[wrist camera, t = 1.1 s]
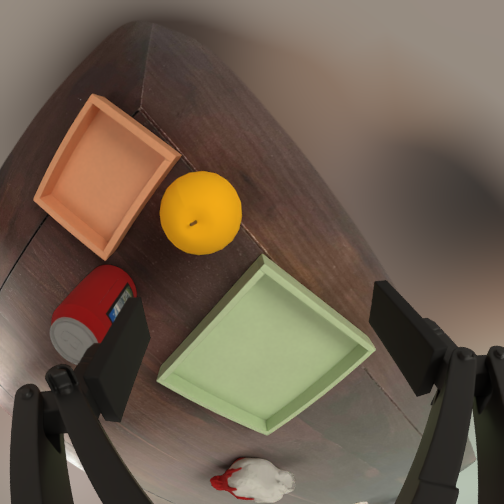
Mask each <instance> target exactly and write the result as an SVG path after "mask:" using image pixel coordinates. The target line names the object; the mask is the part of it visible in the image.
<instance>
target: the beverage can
mask: <svg viewBox="0 0 504 504" xmlns="http://www.w3.org/2000/svg"><path fill="white" fill-rule="evenodd" d="M131 297H137V291H136V287H135V284H134V282H133V280H132V279H131V277H130V276H129V275H128V274H127V273H126V272H125V271H123V270H122V269H120V268H118V267H116V266H113V265H101V266H98V267H96V268H95V269H94V270H93V271H92V272H91V273H90V274H89V275H88V276H86V277H85V278H84V279H83V280H82V281H81V282H80V284H79V285H78V286H77V287H76V288H75V289H74V290H73V291H72V292H71V293H70V294H69V295H68V296H67V297H66V298H65V299H64V300H63V302H62V303H61V304H60V305H59V306H58V307H57V308H56V310H55V311H54V313H53V315H52V321H51V328H50V338H51V341H52V344H53V346H54V347H55V349H56V350H57V351H58V353H59V354H60V355H61V356H62V357H63V358H65V359H66V360H68V361H69V362H71V363H73V364H76V365H78V363H79V362H80V360H81V358H82V357H83V355H84V353H85V351H86V350H87V348H89V347H90V346H91V345H92V344H93V343H101V342H102V340H103V338H104V337H105V335H106V333H107V332H108V330H109V328H110V327H111V325H112V323H113V322H114V320H115V318H116V317H117V315H118V313H119V312H120V310H121V308H122V307H123V305H124V304H125V302H126V300H127V299H128V298H131Z"/></svg>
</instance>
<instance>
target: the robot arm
mask: <svg viewBox="0 0 504 504" xmlns="http://www.w3.org/2000/svg"><path fill="white" fill-rule="evenodd" d="M369 323H370V325H371V326H372V328H373V329H374V331H375V332H376V334H377V335H378V337H379V338H380V340H381V341H382V343H383V344H384V346H385V347H386V349H387V350H388V352H389V353H390V355H391V356H392V358H393V360H394V361H395V363H396V364H397V366H398V367H399V369H400V371H401V372H402V374H403V375H404V377H405V378H406V380H407V382H408V383H409V385H410V386H411V388H412V390H413V391H414V393H415V395H416V396H421V395H424V394H427V393H430V391H431V389H432V387H433V384H435V385H436V387H437V388H438V389H437V391H436V394H435V396H434V398H433V400H432V402H431V404H430V405H432V408H431V411H430V415H429V418H428V421H427V424H426V427H425V431H424V434H423V436H422V439H421V442H420V445H419V448H418V451H417V453H416V456H415V458H414V461H413V464H412V466H411V468H410V471H409V473H408V476H407V478H406V480H405V483H404V485H403V487H402V489H401V491H400V494H399V496H398V498H397V500H396V502H395V504H456V501H457V498H458V494H459V489H458V488H456V482H457V479H458V475H459V471H460V468H461V464H462V460H463V455H464V451H465V446H466V442H467V437H468V431H469V426H470V419H471V413H472V409H473V417H474V425H475V434H476V445H477V460H478V504H504V347H501V346H493V347H491V348H490V349H489V351H488V354H487V355H478V356H477V355H476V354H475V353H474V352H473V351H472V350H471V349H468V348H465V347H457V346H456V344H455V343H454V342H453V341H452V340H451V339H450V338H449V337H448V336H447V335H446V334H445V333H444V331H443V330H442V329H440V327H439V326H438V325H437V324H436V323H435V322H434V321H432V320H430V319H428V318H422V317H421V316H420V315H419V314H418V313H417V312H416V311H415V310H414V309H413V308H412V307H411V305H410V304H409V303H408V302H407V301H406V300H405V299H404V298H403V297H402V296H401V295H400V294H399V293H398V292H397V291H396V290H395V289H394V288H393V287H392V286H391V285H390V284H389V283H388V282H387V281H386V280H384V281H375V283H374V290H373V298H372V305H371V311H370V318H369ZM150 338H151V337H150V334H149V330H148V326H147V322H146V318H145V314H144V309H143V305H142V301H141V297H131V298H128V299H127V300H126V302H125V304H124V305H123V307H122V308H121V310H120V312H119V313H118V315H117V317H116V318H115V320H114V322H113V323H112V325H111V327H110V328H109V330H108V332H107V333H106V335H105V337H104V338H103V340H102V342H101V343H93V344H92V345H91V346H90V347H89V348H87V350H86V351H85V353H84V355H83V357H82V358H81V360H80V362H79V363H78V365H77V366H76V368H75V370H74V372H73V370H72V368H71V367H70V366H69V365H66V364H60V365H56V366H54V367H52V368H50V369H49V370H48V371H47V373H46V375H45V379H46V381H47V383H48V385H49V387H50V389H51V391H45V392H40V390H39V388H38V387H37V386H36V385H34V384H26V385H23V386H22V387H20V388H19V389H18V390H17V392H16V394H15V400H14V408H13V418H12V429H11V445H10V491H11V504H74V502H73V497H72V492H71V487H70V481H69V475H68V469H67V461H66V453H65V444H64V434H63V433H68V435H69V437H70V439H71V442H72V444H73V446H74V449H75V451H76V453H77V455H78V457H79V459H80V462H81V464H82V466H83V468H84V470H85V472H86V474H87V475H88V478H89V480H90V481H91V483H92V485H93V487H94V489H95V491H96V492H97V494H98V496H99V498H100V500H101V501H102V503H103V504H154V503H153V502H152V501H151V500H150V498H149V497H148V496H147V494H146V493H145V492H144V490H143V489H142V488H141V486H140V485H139V483H138V482H137V481H136V479H135V478H134V476H133V475H132V474H131V472H130V471H129V469H128V468H127V466H126V465H125V463H124V462H123V460H122V458H121V457H120V455H119V454H118V452H117V451H116V449H115V447H114V446H113V444H112V442H111V441H110V439H109V437H108V436H107V434H106V432H105V430H104V429H103V427H102V425H101V423H100V421H99V420H98V418H99V415H100V413H101V414H102V416H103V417H104V419H105V421H112V422H121V419H122V416H123V413H124V410H125V407H126V404H127V401H128V398H129V395H130V393H131V390H132V387H133V384H134V381H135V378H136V376H137V373H138V370H139V367H140V365H141V362H142V359H143V357H144V354H145V351H146V349H147V346H148V343H149V341H150Z"/></svg>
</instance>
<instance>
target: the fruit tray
mask: <svg viewBox="0 0 504 504" xmlns="http://www.w3.org/2000/svg"><path fill="white" fill-rule="evenodd" d="M375 350H376V349H375V347H374V345H373V344H372V342H371V340H370V339H369V337H368V336H367V335H365V334H364V333H363V332H362V331H360V330H359V329H358V328H357V327H355V326H354V325H353V324H352V323H350V322H349V321H348V320H346V319H345V318H344V317H343V316H341V315H340V314H339V313H338V312H336V311H335V310H334V309H332V308H331V307H330V306H329V305H327V304H326V303H325V302H324V301H322V300H321V299H320V298H318V297H317V296H316V295H315V294H313V293H312V292H311V291H310V290H308V289H307V288H306V287H304V286H303V285H302V284H301V283H299V282H298V281H297V280H296V279H294V278H293V277H292V276H290V275H289V274H288V273H287V272H285V271H284V270H283V269H281V268H280V267H279V266H278V265H276V264H275V263H274V262H272V261H271V260H270V259H269V258H267V257H266V256H265V255H264V254H261V255H260V256H259V257H258V258H257V260H256V261H255V262H254V263H253V264H252V265H251V266H250V267H249V269H248V270H247V271H246V272H245V273H244V274H243V275H242V276H241V278H240V279H239V280H238V281H237V282H236V283H235V284H234V285H233V286H232V288H231V289H230V290H229V291H228V292H227V293H226V294H225V295H224V297H223V298H222V299H221V300H220V301H219V302H218V303H217V304H216V305H215V307H214V308H213V309H212V310H211V311H210V312H209V313H208V314H207V315H206V317H205V318H204V319H203V320H202V321H201V322H200V323H199V324H198V326H197V327H196V328H195V329H194V330H193V331H192V332H191V333H190V334H189V336H188V337H187V338H186V339H185V340H184V341H183V342H182V343H181V344H180V345H179V347H178V348H177V349H176V350H175V351H174V352H173V353H172V354H171V355H170V357H169V358H168V359H167V360H166V361H165V362H164V363H163V364H162V365H161V366H160V370H159V373H158V377H157V382H159V383H161V384H162V385H164V386H166V387H168V388H169V389H171V390H173V391H175V392H176V393H178V394H180V395H182V396H184V397H186V398H188V399H189V400H191V401H193V402H195V403H197V404H199V405H201V406H203V407H205V408H207V409H209V410H211V411H213V412H215V413H217V414H219V415H221V416H224V417H226V418H228V419H230V420H232V421H234V422H237V423H239V424H241V425H243V426H246V427H248V428H250V429H253V430H255V431H258V432H260V433H262V434H265V435H269V434H270V433H272V432H274V431H275V430H276V429H278V428H279V427H281V426H282V425H284V424H285V423H287V422H288V421H289V420H291V419H292V418H294V417H295V416H296V415H298V414H299V413H300V412H302V411H303V410H304V409H306V408H307V407H308V406H310V405H311V404H312V403H314V402H315V401H316V400H318V399H319V398H320V397H321V396H323V395H324V394H325V393H326V392H328V391H329V390H330V389H331V388H333V387H334V386H335V385H336V384H337V383H339V382H340V381H341V380H342V379H343V378H345V377H346V376H347V375H348V374H349V373H350V372H352V371H353V370H354V369H355V368H356V367H357V366H358V365H360V364H361V363H362V362H363V361H364V360H365V359H366V358H367V357H368V356H370V355H371V354H372V353H373V352H374V351H375Z"/></svg>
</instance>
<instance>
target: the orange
mask: <svg viewBox="0 0 504 504" xmlns="http://www.w3.org/2000/svg"><path fill="white" fill-rule="evenodd" d="M241 218H242V210H241V201H240V199H239V197H238V195H237V192H236V190H235V189H234V187H233V186H232V185H231V184H230V183H229V182H228V181H227V180H226V179H224V178H223V177H221V176H219V175H218V174H216V173H211V172H206V171H199V172H191V173H188V174H186V175H184V176H181V177H179V178H177V179H176V180H175V181H174V182H173V183H172V184H171V185H170V186H169V187H168V188H167V189H166V191H165V193H164V196H163V198H162V200H161V207H160V219H161V226H162V228H163V230H164V232H165V234H166V236H167V238H168V239H169V240H170V241H171V242H172V243H173V244H174V245H175V246H176V247H177V248H179V249H181V250H182V251H184V252H186V253H190V254H196V255H203V254H211V253H214V252H216V251H218V250H221V249H223V248H224V247H225V246H226V245H228V244H229V243H230V242H231V241H232V240H233V239H234V237H235V235H236V234H237V232H238V230H239V227H240V223H241Z"/></svg>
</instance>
